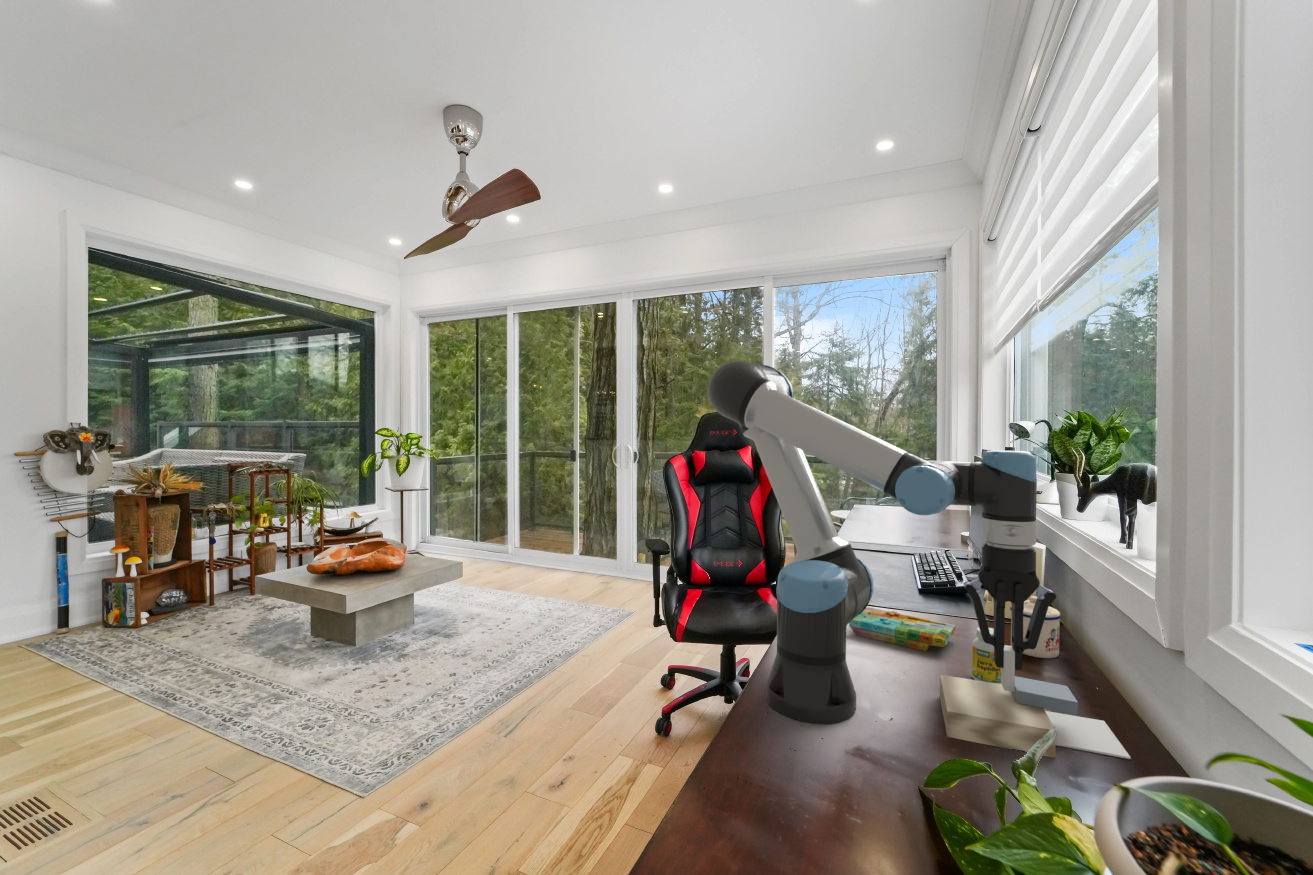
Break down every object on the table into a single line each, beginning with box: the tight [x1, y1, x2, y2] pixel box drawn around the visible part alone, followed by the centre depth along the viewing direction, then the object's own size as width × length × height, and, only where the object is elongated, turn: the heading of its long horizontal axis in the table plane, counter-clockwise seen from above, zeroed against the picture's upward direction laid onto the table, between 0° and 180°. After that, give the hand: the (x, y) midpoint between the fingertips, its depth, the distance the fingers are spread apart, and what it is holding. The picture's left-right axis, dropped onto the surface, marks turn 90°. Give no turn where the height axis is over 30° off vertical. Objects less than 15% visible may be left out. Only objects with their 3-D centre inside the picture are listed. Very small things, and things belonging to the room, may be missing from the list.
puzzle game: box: [848, 606, 957, 652], centre depth 127 cm, size 12×5×20 cm
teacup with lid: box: [1009, 595, 1062, 659], centre depth 121 cm, size 12×9×12 cm
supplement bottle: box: [971, 627, 1001, 684], centre depth 106 cm, size 5×5×10 cm
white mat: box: [1045, 710, 1132, 760], centre depth 88 cm, size 10×11×1 cm
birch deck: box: [939, 674, 1057, 759], centre depth 90 cm, size 14×14×4 cm
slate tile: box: [1011, 675, 1079, 716], centre depth 90 cm, size 8×6×2 cm
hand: (1007, 687), depth 92 cm, fingers closed
